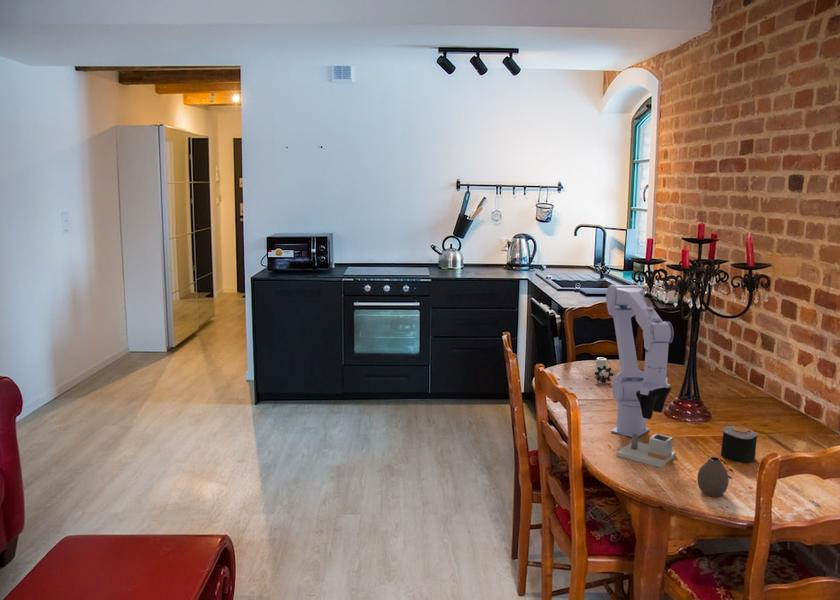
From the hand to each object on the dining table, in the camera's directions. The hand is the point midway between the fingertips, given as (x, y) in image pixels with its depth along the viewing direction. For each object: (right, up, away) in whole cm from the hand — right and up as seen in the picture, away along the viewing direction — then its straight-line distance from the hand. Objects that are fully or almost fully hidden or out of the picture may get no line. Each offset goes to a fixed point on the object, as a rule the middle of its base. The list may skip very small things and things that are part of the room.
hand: (652, 414), depth 196 cm
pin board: (-2, -11, -1) cm, 11 cm away
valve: (+4, +2, +71) cm, 72 cm away
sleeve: (+1, -10, -4) cm, 11 cm away
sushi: (+23, -11, -1) cm, 26 cm away
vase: (+7, -15, -23) cm, 29 cm away
